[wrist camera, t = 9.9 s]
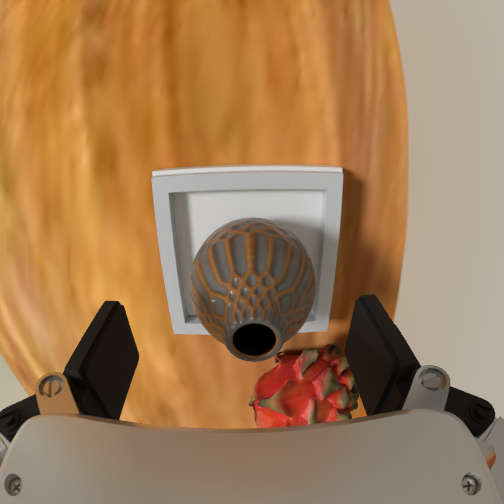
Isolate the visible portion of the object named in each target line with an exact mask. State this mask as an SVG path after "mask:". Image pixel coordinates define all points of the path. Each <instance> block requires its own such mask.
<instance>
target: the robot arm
mask: <svg viewBox="0 0 504 504" xmlns="http://www.w3.org/2000/svg"><path fill="white" fill-rule="evenodd" d="M345 356H346V359H347V361H348V364H349V367H350V369H351V372H352V375H353V377H354V380H355V383H356V386H357V388H358V391H359V394H360V397H361V399H362V402H363V405H364V408H365V411H366V414H367V416H365V417H359V418H353V419H347V420H340V421H333V422H326V423H318V424H310V425H300V426H288V427H273V428H251V429H210V428H187V427H173V426H161V425H152V424H143V423H135V422H128V421H121V420H119V418H120V415H121V412H122V408H123V405H124V402H125V399H126V396H127V393H128V390H129V387H130V384H131V381H132V378H133V375H134V372H135V369H136V367H137V364H138V361H139V353H138V350H137V347H136V344H135V341H134V337H133V334H132V331H131V328H130V325H129V322H128V318H127V315H126V311H125V308H124V306H123V305H120V303H119V302H118V301H105V302H104V303H103V305H102V306H101V308H100V309H99V311H98V313H97V314H96V316H95V317H94V319H93V321H92V322H91V324H90V326H89V327H88V329H87V330H86V332H85V334H84V335H83V337H82V339H81V340H80V342H79V344H78V346H77V347H76V349H75V351H74V353H73V354H72V356H71V358H70V360H69V361H68V363H67V365H66V367H65V370H64V372H63V374H61V373H58V372H51V373H47V374H45V375H44V376H42V377H41V378H40V379H39V380H38V382H37V383H36V386H35V393H36V394H34V395H32V396H30V397H28V398H26V399H24V400H22V401H20V402H17V403H15V404H13V405H11V406H9V407H6V408H5V409H3V410H2V411H1V412H0V504H504V419H503V418H501V417H499V418H498V419H497V418H496V417H495V411H494V408H493V407H492V405H491V404H490V403H489V402H488V401H486V400H484V399H482V398H479V397H477V396H474V395H471V394H469V393H466V392H464V391H461V390H459V389H456V388H454V387H451V386H450V378H449V376H448V374H447V373H446V372H445V371H444V370H443V369H442V368H440V367H437V366H433V365H426V366H423V367H421V365H420V364H419V362H418V360H417V359H416V357H415V355H414V353H413V352H412V350H411V349H410V347H409V345H408V344H407V342H406V340H405V339H404V337H403V336H402V334H401V332H400V331H399V329H398V328H397V326H396V325H395V324H394V323H393V321H392V320H391V318H390V317H389V315H388V314H387V312H386V311H385V309H384V308H383V306H382V304H381V303H380V301H379V300H378V298H377V297H376V296H375V295H362V296H360V298H359V299H357V300H356V302H355V306H354V311H353V316H352V320H351V325H350V329H349V334H348V338H347V342H346V346H345Z"/></svg>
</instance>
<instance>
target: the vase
mask: <svg viewBox="0 0 504 504" xmlns="http://www.w3.org/2000/svg"><path fill="white" fill-rule="evenodd" d="M315 289H316V279H315V271H314V267H313V264H312V261H311V258H310V256H309V254H308V252H307V250H306V249H305V247H304V245H303V244H302V243H301V241H300V240H299V239H298V238H297V237H296V236H295V235H294V234H293V233H292V232H291V231H290V230H289V229H287V228H286V227H284V226H282V225H280V224H279V223H276V222H274V221H271V220H268V219H263V218H253V217H251V218H242V219H237V220H234V221H231V222H229V223H226V224H224V225H223V226H221V227H220V228H218V229H217V230H215V231H214V232H213V233H212V234H211V235H210V236H209V237H208V238H207V239H206V240H205V241H204V243H203V244H202V246H201V247H200V249H199V251H198V253H197V255H196V257H195V259H194V262H193V265H192V269H191V273H190V295H191V300H192V304H193V307H194V310H195V313H196V315H197V317H198V319H199V321H200V322H201V324H202V325H203V327H204V328H205V329H206V330H207V331H208V332H209V333H210V334H211V335H212V336H213V337H214V338H215V339H217V340H218V341H220V342H221V343H223V344H225V345H226V347H227V348H228V350H229V351H230V352H231V353H232V354H233V355H234V356H236V357H237V358H239V359H242V360H245V361H251V362H257V361H263V360H266V359H269V358H271V357H273V356H274V355H275V354H276V353H278V351H279V350H280V349H281V347H282V346H283V344H284V343H285V342H286V341H288V340H289V339H290V338H292V337H293V336H294V335H295V334H296V333H297V332H298V331H299V330H300V329H301V327H302V326H303V325H304V323H305V322H306V320H307V318H308V316H309V314H310V312H311V309H312V306H313V303H314V298H315Z"/></svg>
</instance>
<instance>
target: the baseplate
mask: <svg viewBox="0 0 504 504" xmlns="http://www.w3.org/2000/svg"><path fill="white" fill-rule="evenodd" d="M152 174H153V177H152V190H153V200H154V210H155V218H156V227H157V235H158V243H159V250H160V257H161V264H162V270H163V276H164V282H165V288H166V294H167V300H168V305H169V311H170V316H171V321H172V326H173V331H174V334H207V335H211V334H210V333H209V332H208V331H207V330H206V329H205V328H204V327H203V325H202V324H201V322H200V321H199V319H198V317H197V315H196V313H195V310H194V307H193V304H192V300H191V295H190V273H191V269H192V265H193V262H194V259H195V257H196V255H197V253H198V251H199V249H200V247H201V246H202V244H203V243H204V241H205V240H206V239H207V238H208V237H209V236H210V235H211V234H212V233H213V232H214V231H215V230H217V229H218V228H220V227H221V226H223V225H224V224H226V223H229V222H231V221H234V220H237V219H242V218H251V217H253V218H263V219H268V220H271V221H274V222H276V223H279V224H280V225H282V226H284V227H286V228H287V229H289V230H290V231H291V232H292V233H293V234H294V235H295V236H296V237H297V238H298V239H299V240H300V241H301V243H302V244H303V245H304V247H305V249H306V250H307V252H308V254H309V256H310V258H311V261H312V264H313V267H314V271H315V279H316V289H315V298H314V303H313V306H312V309H311V312H310V314H309V316H308V318H307V320H306V322H305V323H304V325H303V326H302V327H301V329H300V330H299V331H298V332H297V333H301V332H318V331H327V329H328V323H329V316H330V310H331V303H332V295H333V288H334V280H335V271H336V262H337V253H338V243H339V232H340V220H341V206H342V191H343V173H342V168H341V167H339V166H332V165H299V164H249V165H216V166H196V167H181V168H167V169H157V170H155V171H153V172H152Z"/></svg>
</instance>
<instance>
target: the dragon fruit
mask: <svg viewBox="0 0 504 504" xmlns="http://www.w3.org/2000/svg"><path fill="white" fill-rule="evenodd" d="M334 349H336V354H337V353H339V355H340V353H341V352H340V350H341V349H340V347H339V346H338V345H337V344H336V343H334V344H329V345H326V346H325V347H324V348H321V349H320V350H318V349H316V348H315V349H311V350H307V349H305V350H304V351H303V352H302V354H301V355H296V356H294V355H292V354H286V355H279V354H280V353H283V352H279V353H277V354H276V355H275V357H274V358H275V363H277V362H279V364H278V365H277V366H276V367H275V368H273V369H271V370H270V371H269V372H267V373H265V374H264V375H263V376H261V377H260V378H259V379H258V381H257V383H256V385H255V387H254V391H253V395H252V397H251V401H250V403H249V406H251V405H252V406H253V410H254V414H255V417H254V418H255V422H256V425H257V426H258V428H273V427H288V426H300V425H310V424H318V423H326V422H333V421H340V420H347V419H352V416H351V414H350V411H352V410H354V409H357V408H358V403H357V399H358V397H359V391H358V388H357V386H356V383H355V380H354V377H353V375H352V372H351V369H350V367H349V364H348V361H347V359H346V357H340V358H337V359H333V358H332V357H331V353H332V351H333V350H334Z"/></svg>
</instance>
